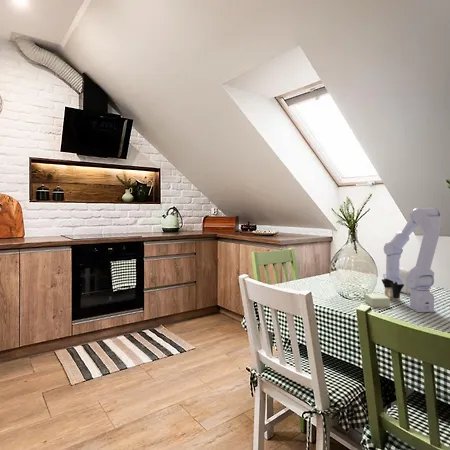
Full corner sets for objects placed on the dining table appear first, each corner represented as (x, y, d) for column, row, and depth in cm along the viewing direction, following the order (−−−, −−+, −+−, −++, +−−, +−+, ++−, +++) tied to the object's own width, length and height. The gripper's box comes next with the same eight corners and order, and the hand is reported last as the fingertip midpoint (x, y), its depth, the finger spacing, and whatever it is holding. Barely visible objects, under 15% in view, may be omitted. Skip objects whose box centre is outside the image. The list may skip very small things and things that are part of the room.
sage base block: (389, 307, 156) (389, 298, 156) (371, 307, 156) (371, 298, 156) (382, 302, 164) (382, 293, 164) (365, 302, 164) (365, 293, 164)
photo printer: (412, 293, 178) (413, 269, 178) (406, 293, 177) (406, 269, 176) (397, 288, 188) (397, 265, 188) (390, 289, 187) (391, 266, 186)
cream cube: (400, 300, 166) (400, 290, 166) (389, 300, 166) (389, 290, 166) (394, 297, 171) (394, 287, 171) (384, 297, 171) (384, 287, 171)
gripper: (377, 265, 175) (377, 292, 176) (391, 271, 160) (391, 300, 161) (391, 265, 175) (391, 291, 176) (407, 270, 160) (406, 299, 161)
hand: (392, 295), depth 168 cm, fingers open, 7 cm apart
